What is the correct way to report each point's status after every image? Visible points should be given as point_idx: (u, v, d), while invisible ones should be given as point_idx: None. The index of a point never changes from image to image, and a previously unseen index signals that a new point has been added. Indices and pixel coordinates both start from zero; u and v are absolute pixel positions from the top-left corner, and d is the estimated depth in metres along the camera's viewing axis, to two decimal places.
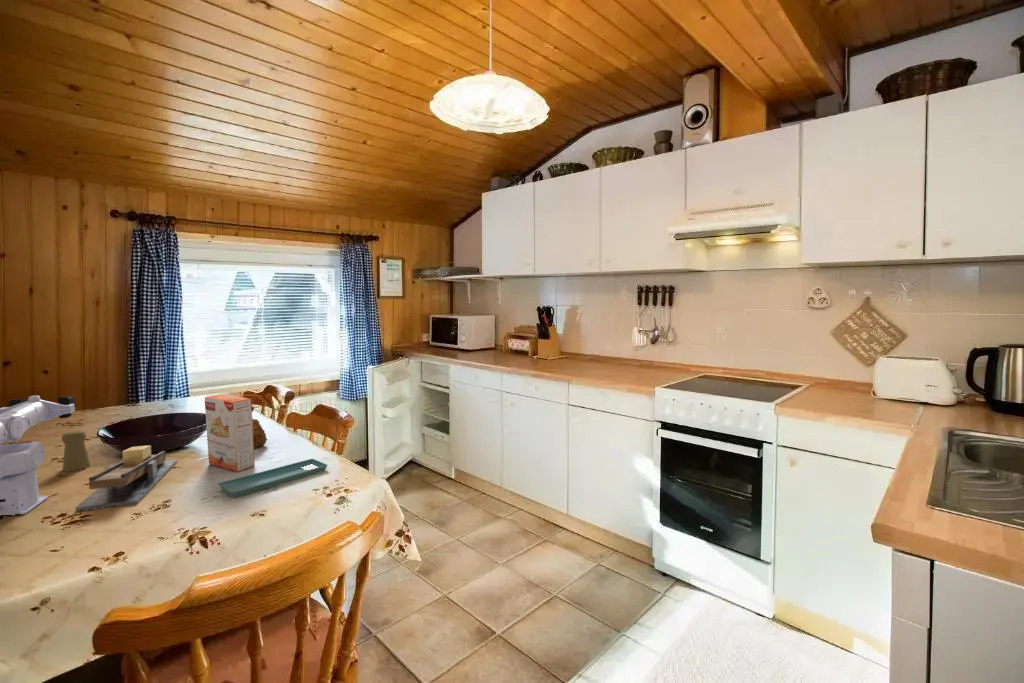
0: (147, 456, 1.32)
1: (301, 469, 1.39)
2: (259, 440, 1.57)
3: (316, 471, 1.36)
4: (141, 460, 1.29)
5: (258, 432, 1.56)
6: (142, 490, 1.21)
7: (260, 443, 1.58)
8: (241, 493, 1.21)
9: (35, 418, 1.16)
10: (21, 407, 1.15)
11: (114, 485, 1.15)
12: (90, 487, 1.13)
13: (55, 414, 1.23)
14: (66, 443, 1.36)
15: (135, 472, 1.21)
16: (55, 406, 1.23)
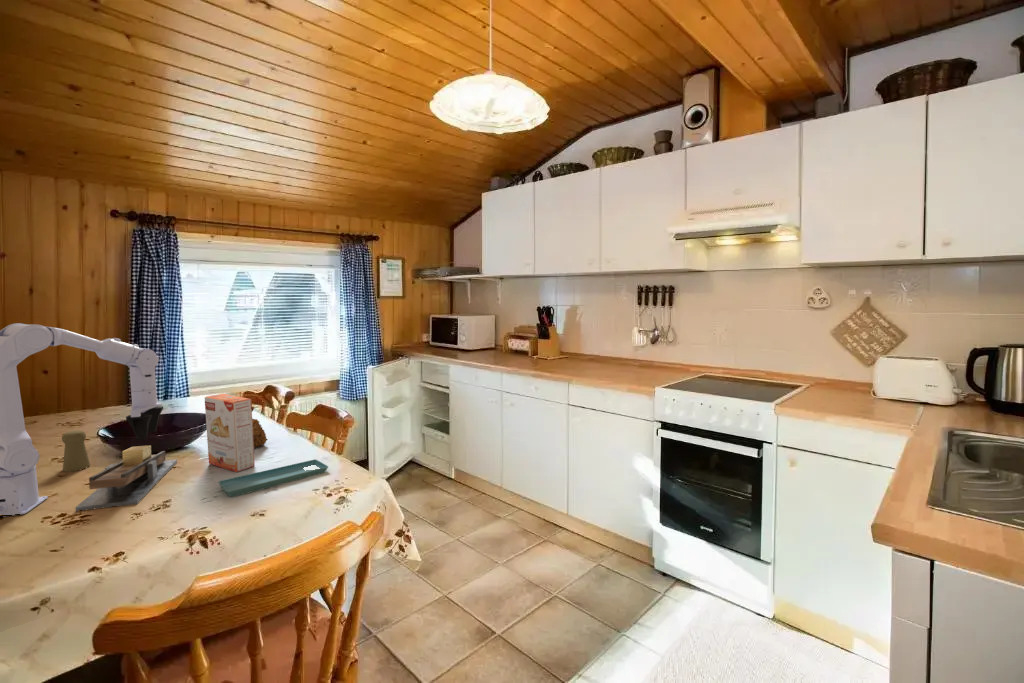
0: (147, 456, 1.32)
1: (303, 470, 1.39)
2: (259, 440, 1.57)
3: (316, 472, 1.36)
4: (141, 460, 1.29)
5: (258, 432, 1.56)
6: (142, 490, 1.21)
7: (260, 443, 1.58)
8: (238, 492, 1.21)
9: (148, 385, 1.35)
10: None
11: (114, 485, 1.15)
12: (90, 487, 1.13)
13: None
14: (66, 443, 1.36)
15: (135, 472, 1.21)
16: None
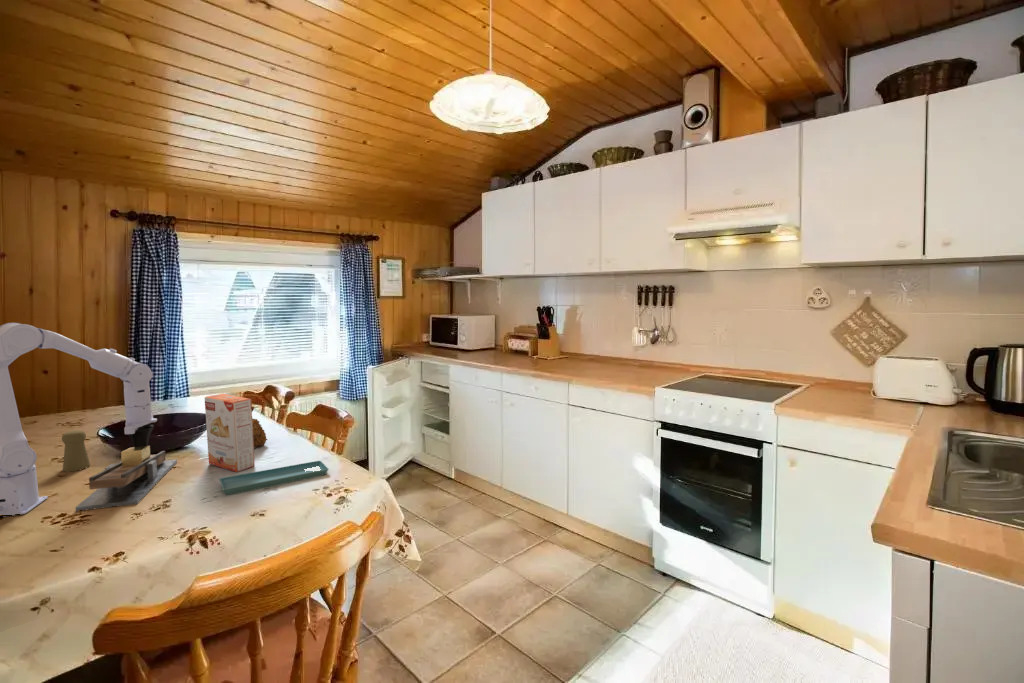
0: (146, 457, 1.32)
1: None
2: (259, 440, 1.57)
3: (315, 474, 1.34)
4: (140, 461, 1.28)
5: (258, 432, 1.56)
6: (142, 490, 1.21)
7: (260, 443, 1.58)
8: (233, 491, 1.22)
9: (141, 400, 1.31)
10: None
11: (114, 485, 1.15)
12: (90, 487, 1.13)
13: (128, 425, 1.29)
14: (66, 443, 1.36)
15: (135, 472, 1.21)
16: None
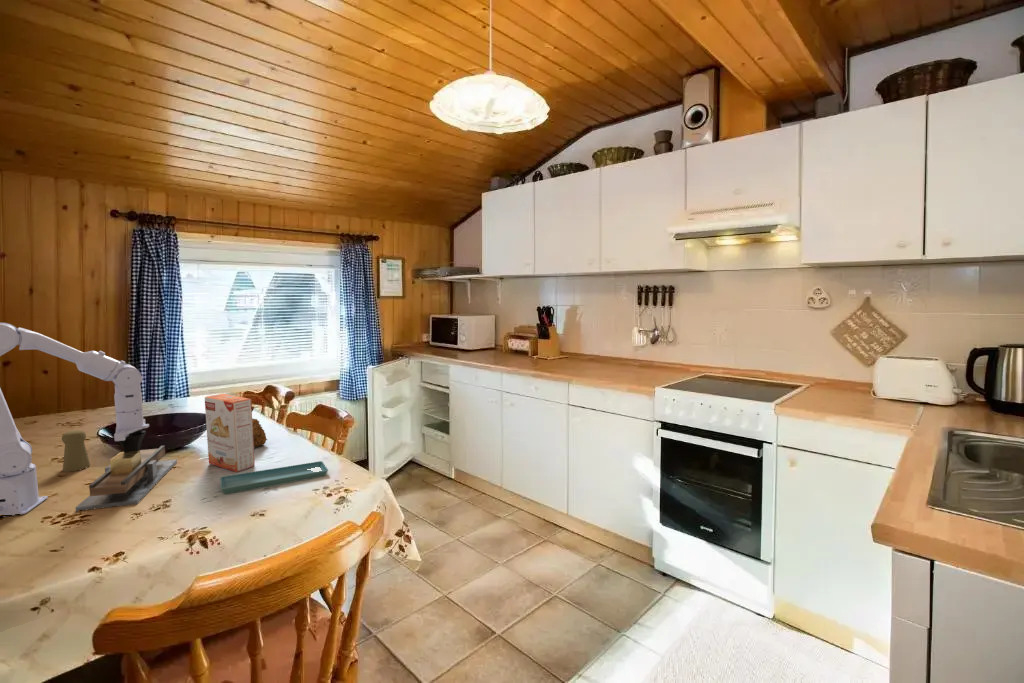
0: (137, 463, 1.26)
1: (306, 471, 1.38)
2: (259, 440, 1.58)
3: (315, 475, 1.33)
4: (130, 469, 1.23)
5: (258, 432, 1.56)
6: (142, 490, 1.21)
7: (260, 443, 1.58)
8: (231, 490, 1.23)
9: (129, 406, 1.25)
10: None
11: (115, 492, 1.15)
12: (91, 494, 1.13)
13: None
14: (66, 443, 1.36)
15: (135, 476, 1.21)
16: None
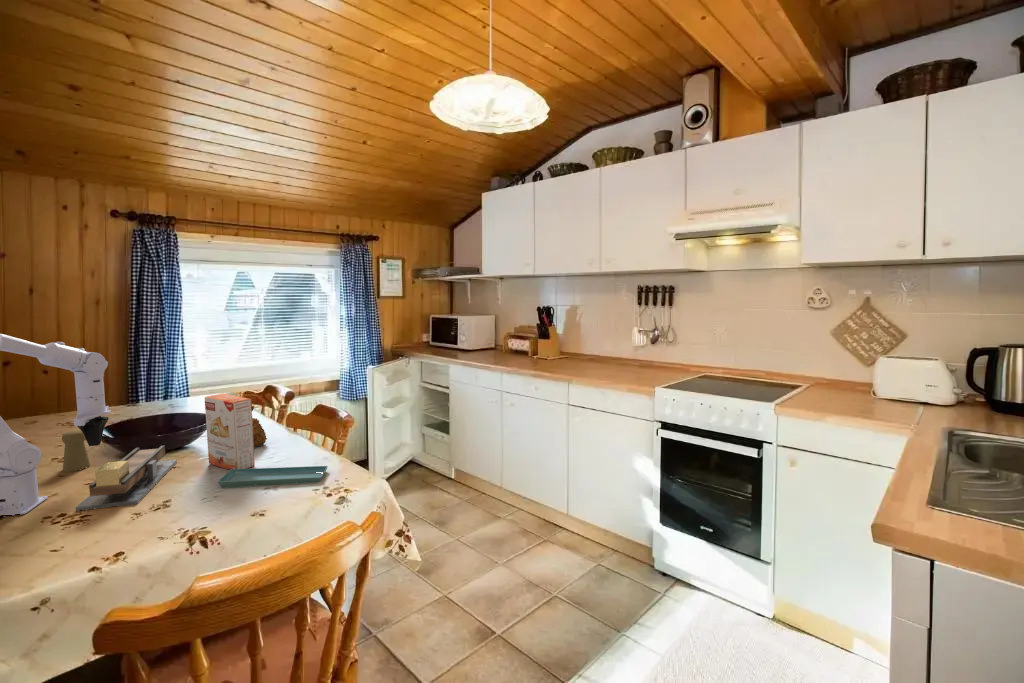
0: (124, 474, 1.19)
1: (308, 474, 1.35)
2: (259, 439, 1.58)
3: (308, 481, 1.30)
4: (117, 480, 1.15)
5: (258, 431, 1.57)
6: (142, 490, 1.21)
7: (260, 442, 1.59)
8: (227, 484, 1.26)
9: (97, 391, 1.27)
10: None
11: (115, 492, 1.15)
12: (91, 494, 1.13)
13: (79, 417, 1.24)
14: (66, 443, 1.36)
15: (135, 476, 1.21)
16: None
